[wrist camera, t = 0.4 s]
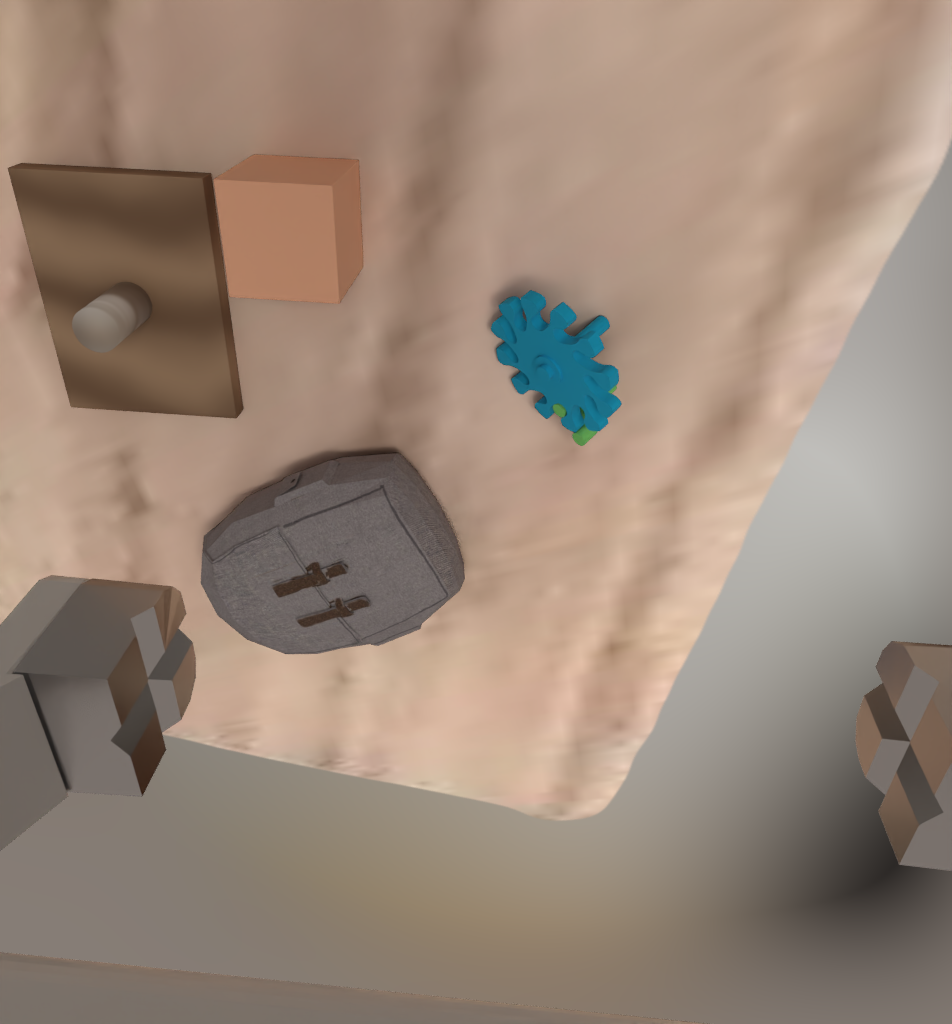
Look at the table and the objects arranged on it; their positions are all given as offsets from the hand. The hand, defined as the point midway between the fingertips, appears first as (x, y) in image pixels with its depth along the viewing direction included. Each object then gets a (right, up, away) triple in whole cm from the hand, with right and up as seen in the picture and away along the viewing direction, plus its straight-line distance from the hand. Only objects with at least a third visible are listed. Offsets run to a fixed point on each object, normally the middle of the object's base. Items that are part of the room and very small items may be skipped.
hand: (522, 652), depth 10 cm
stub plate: (-23, +16, +46) cm, 54 cm away
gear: (+5, +13, +46) cm, 48 cm away
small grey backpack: (-12, 0, +56) cm, 57 cm away
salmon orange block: (-11, +20, +42) cm, 48 cm away
